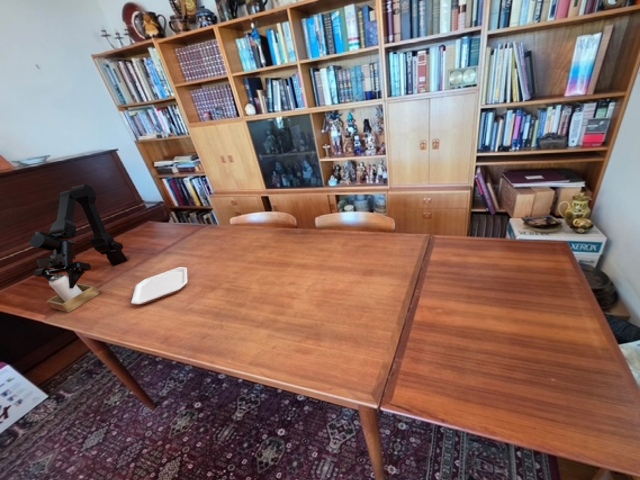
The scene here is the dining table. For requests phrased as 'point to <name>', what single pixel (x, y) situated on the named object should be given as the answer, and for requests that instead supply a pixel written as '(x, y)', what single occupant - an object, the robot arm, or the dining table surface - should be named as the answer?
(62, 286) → the can
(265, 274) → the dining table surface
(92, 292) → the wooden frame
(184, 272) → the plate
